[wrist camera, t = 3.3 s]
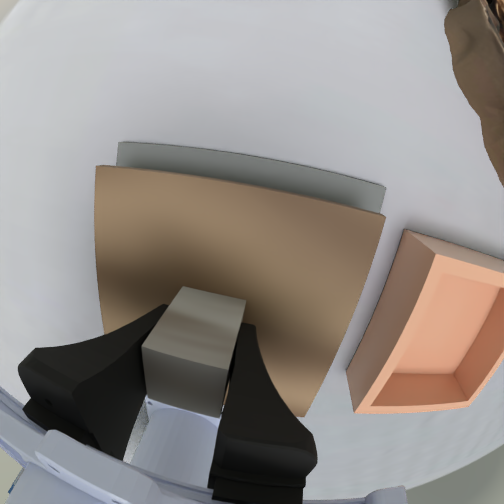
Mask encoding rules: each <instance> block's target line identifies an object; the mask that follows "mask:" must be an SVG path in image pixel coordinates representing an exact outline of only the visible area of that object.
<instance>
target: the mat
mask: <svg viewBox="0 0 504 504" xmlns="http://www.w3.org/2000/svg"><path fill="white" fill-rule="evenodd" d="M116 166H122V167H132V168H141V169H150V170H159V171H167V172H175V173H182V174H190V175H197V176H203V177H210V178H216V179H222V180H229V181H234V182H240V183H246V184H251V185H257V186H262V187H267V188H273V189H278V190H283V191H288V192H292V193H297V194H302V195H306V196H311V197H315V198H320V199H324V200H329V201H333V202H337V203H341V204H345V205H349V206H353V207H357V208H361V209H365V210H369V211H373V212H376V213H380V210H381V207H382V203H383V199H384V195H385V191H386V187H384V186H380V185H377V184H374V183H370V182H366V181H363V180H359V179H355V178H352V177H348V176H344V175H340V174H336V173H332V172H328V171H324V170H319V169H315V168H311V167H306V166H301V165H297V164H292V163H287V162H282V161H277V160H271V159H266V158H260V157H255V156H249V155H242V154H236V153H229V152H223V151H215V150H208V149H200V148H191V147H182V146H171V145H160V144H147V143H131V142H118V152H117V162H116Z"/></svg>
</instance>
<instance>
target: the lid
mask: <svg viewBox="0 0 504 504" xmlns="http://www.w3.org/2000/svg"><path fill="white" fill-rule="evenodd" d="M385 219H386V217H385V216H384V215H382V214H380V213H376V212H373V211H369V210H365V209H361V208H357V207H353V206H349V205H345V204H341V203H337V202H333V201H329V200H324V199H320V198H315V197H311V196H306V195H302V194H297V193H292V192H288V191H283V190H278V189H273V188H267V187H262V186H257V185H251V184H246V183H240V182H234V181H229V180H222V179H216V178H210V177H203V176H197V175H190V174H182V173H175V172H167V171H159V170H150V169H141V168H132V167H122V166H110V165H100V166H96V176H95V203H94V226H95V254H96V269H97V281H98V291H99V299H100V307H101V315H102V321H103V328H104V334H108V333H110V332H112V331H115V330H117V329H119V328H121V327H123V326H125V325H127V324H129V323H131V322H133V321H134V320H136V319H138V318H140V317H141V316H143V315H145V314H147V313H148V312H150V311H152V310H153V309H155V308H157V307H158V306H160V305H162V304H167V305H169V307H168V308H167V309H166V311H165V312H164V314H163V315H162V317H161V318H160V320H159V321H158V322H157V324H156V325H155V327H154V328H153V330H152V331H151V333H150V334H149V336H148V337H147V339H146V340H145V342H144V343H143V345H142V346H141V347H142V357H143V366H144V374H145V382H146V389H147V396H148V398H149V399H151V400H154V401H157V402H160V403H164V404H167V405H170V406H173V407H177V408H180V409H184V410H187V411H191V412H194V413H198V414H202V415H206V416H210V417H215V418H219V419H220V415H221V411H222V407H223V404H224V405H225V402H226V398H227V394H228V388H229V380H230V374H231V369H232V363H233V358H234V352H235V347H236V342H237V336H238V332H239V328H240V325H241V322H243V323H248V324H253V325H255V326H256V333H257V339H258V344H259V348H260V352H261V355H262V358H263V361H264V364H265V366H266V369H267V371H268V374H269V376H270V378H271V380H272V382H273V384H274V386H275V388H276V389H277V391H278V393H279V395H280V396H281V398H282V399H283V400H284V402H285V403H286V405H287V406H288V408H289V409H290V410H291V412H292V413H293V414H294V415H295V416H296V417H305V415H306V413H307V411H308V409H309V408H310V406H311V404H312V402H313V400H314V398H315V396H316V394H317V392H318V391H319V389H320V387H321V385H322V383H323V381H324V379H325V377H326V375H327V372H328V370H329V368H330V366H331V364H332V362H333V360H334V358H335V355H336V353H337V351H338V349H339V347H340V344H341V342H342V340H343V338H344V335H345V333H346V331H347V328H348V326H349V323H350V321H351V318H352V316H353V313H354V311H355V308H356V306H357V303H358V301H359V298H360V295H361V293H362V290H363V287H364V285H365V282H366V279H367V276H368V273H369V270H370V267H371V264H372V261H373V258H374V255H375V252H376V249H377V246H378V243H379V239H380V236H381V233H382V229H383V226H384V222H385Z"/></svg>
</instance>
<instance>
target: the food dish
mask: <svg viewBox="0 0 504 504" xmlns="http://www.w3.org/2000/svg"><path fill="white" fill-rule="evenodd" d="M444 27H445V34H446V36H447V39H448V42H449V45H450V51H451V54H452V65H453V71H454V74H455V78H456V80H457V83H458V85H459V87H460V89H461V90H462V92H463V94H464V95H465V97H466V98H467V100H468V102H469V104H470V106H471V107H472V108H473V109H474V110H475V112H476V113H477V114H478V116H479V117H480V120H481V126H482V135H483V141H484V145H485V148H486V151H487V153H488V156H489V158H490V160H491V162H492V164H493V166H494V168H495V170H496V172H497V174H498V177H499V180H500V182H501V183H502V185H503V187H504V0H459V3H458V7H457V8H455V9H450V11H449V12H448V14H447V15H446V17H445V20H444Z"/></svg>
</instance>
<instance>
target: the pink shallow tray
mask: <svg viewBox="0 0 504 504" xmlns="http://www.w3.org/2000/svg"><path fill="white" fill-rule="evenodd" d="M503 359H504V260H501V259H498V258H495V257H492V256H490V255H487V254H484V253H481V252H478V251H475V250H472V249H469V248H466V247H463V246H460V245H457V244H453V243H450V242H447V241H444V240H441V239H437V238H434V237H431V236H427V235H424V234H420V233H417V232H413V231H410V230H406V229H404V231H403V234H402V238H401V241H400V244H399V247H398V250H397V253H396V256H395V259H394V262H393V265H392V268H391V270H390V273H389V276H388V279H387V281H386V284H385V286H384V289H383V292H382V294H381V297H380V299H379V302H378V304H377V307H376V309H375V311H374V314H373V316H372V318H371V321H370V323H369V325H368V327H367V330H366V332H365V334H364V336H363V338H362V340H361V343H360V345H359V347H358V349H357V351H356V353H355V355H354V357H353V359H352V361H351V363H350V365H349V367H348V369H347V371H346V375H347V379H348V384H349V390H350V395H351V400H352V405H353V411H354V413H368V414H387V413H414V412H429V411H439V410H449V409H457V408H464V407H469V405H470V404H471V403H472V402H473V400H474V399H475V398H476V397H477V395H478V394H479V393H480V392H481V390H482V389H483V388H484V386H485V385H486V384H487V382H488V381H489V380H490V378H491V377H492V375H493V374H494V372H495V371H496V370H497V368H498V367H499V365H500V364H501V362H502V360H503Z"/></svg>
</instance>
